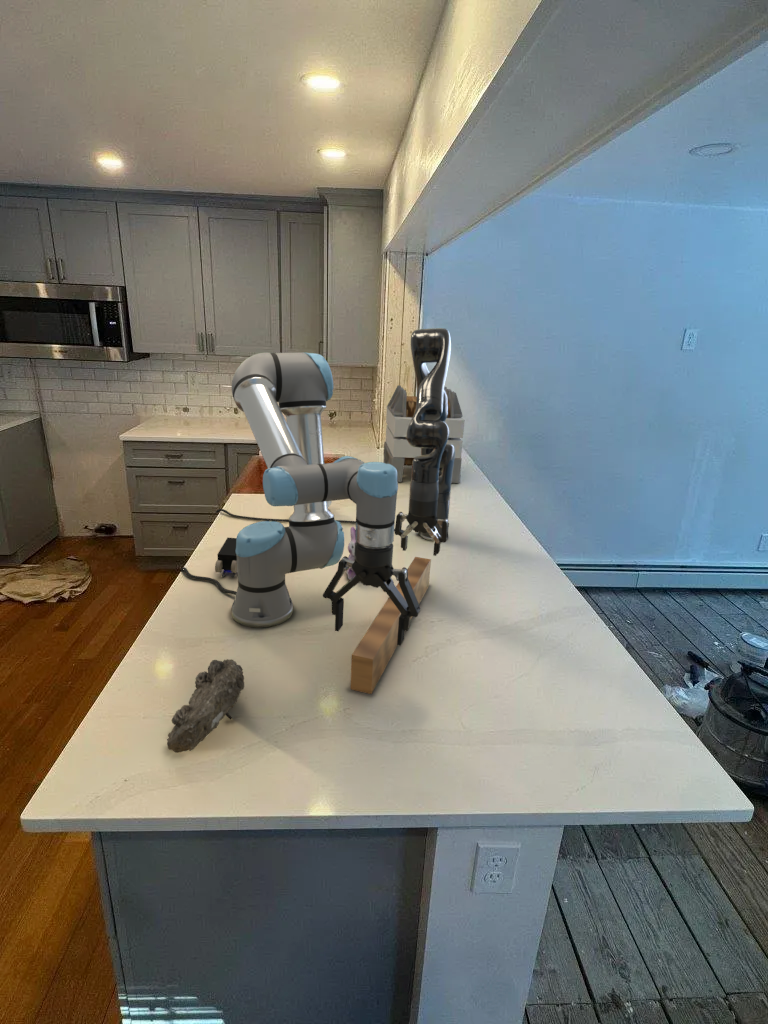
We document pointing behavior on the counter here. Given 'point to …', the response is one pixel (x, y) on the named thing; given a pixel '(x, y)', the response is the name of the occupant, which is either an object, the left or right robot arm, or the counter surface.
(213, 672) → the fossil
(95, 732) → the counter surface
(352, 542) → the figurine
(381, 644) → the post
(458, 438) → the grey stacking crate
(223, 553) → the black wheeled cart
